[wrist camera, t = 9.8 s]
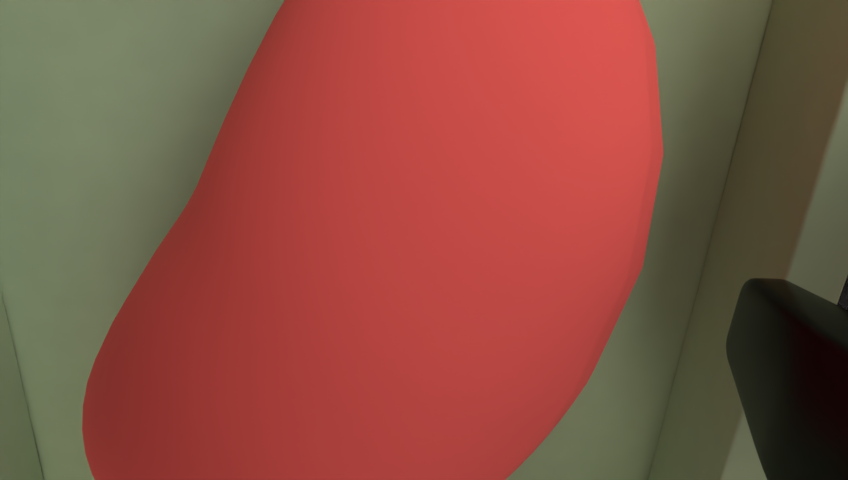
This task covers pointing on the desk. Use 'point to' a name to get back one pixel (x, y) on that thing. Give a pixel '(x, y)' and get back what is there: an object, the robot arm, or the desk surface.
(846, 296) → the desk surface
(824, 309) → the robot arm
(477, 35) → the red bean shape
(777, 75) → the tray
